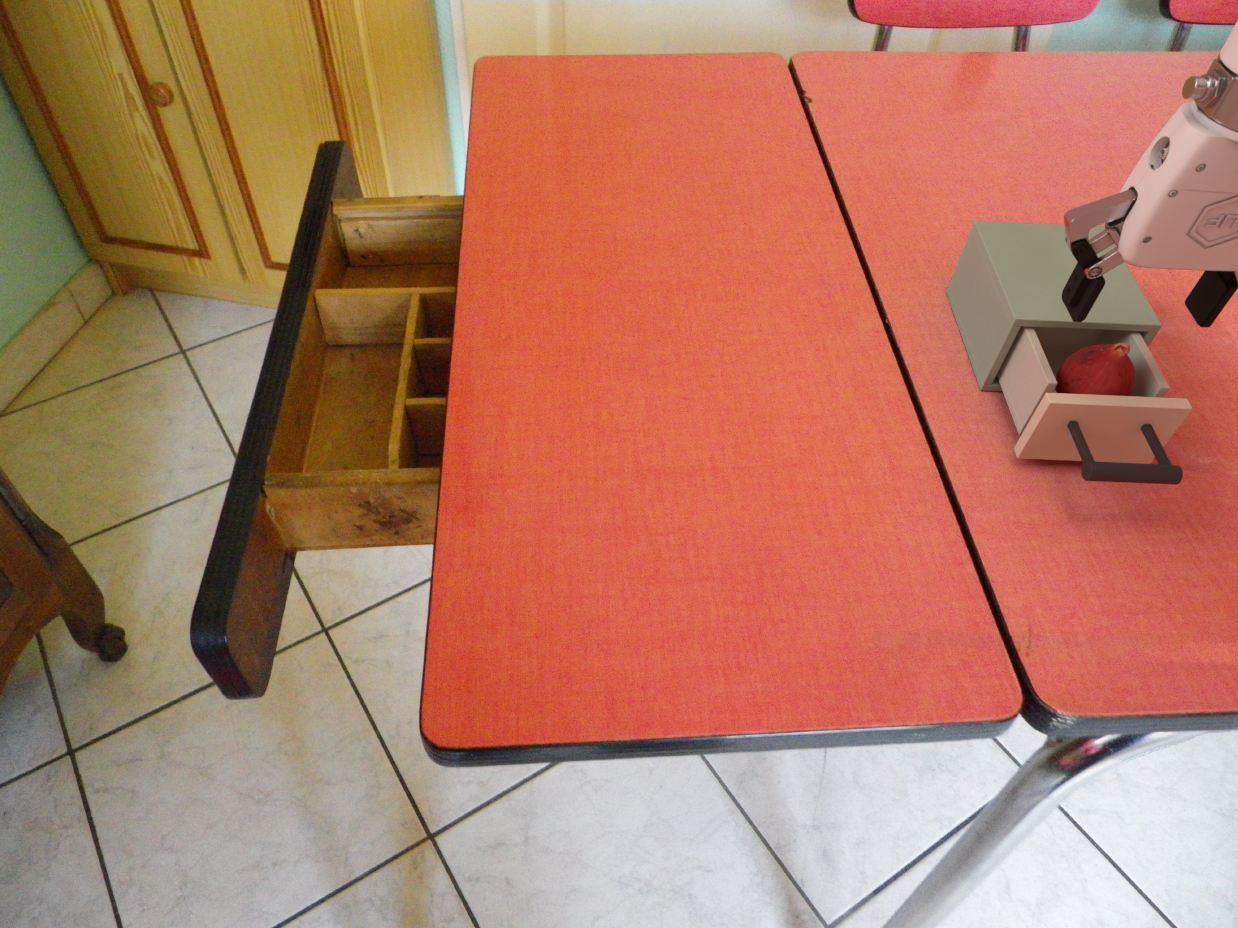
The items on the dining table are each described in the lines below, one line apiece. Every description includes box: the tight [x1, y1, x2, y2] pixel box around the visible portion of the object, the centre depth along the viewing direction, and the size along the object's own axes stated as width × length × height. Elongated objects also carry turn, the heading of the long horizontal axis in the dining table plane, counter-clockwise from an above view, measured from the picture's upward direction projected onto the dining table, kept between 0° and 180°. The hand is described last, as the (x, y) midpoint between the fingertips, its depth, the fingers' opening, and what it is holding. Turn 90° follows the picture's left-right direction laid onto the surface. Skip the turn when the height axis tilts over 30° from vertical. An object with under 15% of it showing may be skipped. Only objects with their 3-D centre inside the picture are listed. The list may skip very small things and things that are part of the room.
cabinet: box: [945, 220, 1163, 392], centre depth 80 cm, size 15×13×9 cm
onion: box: [1055, 343, 1135, 396], centre depth 72 cm, size 6×6×8 cm
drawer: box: [997, 326, 1193, 486], centre depth 72 cm, size 19×11×7 cm, turn 178°
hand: (1133, 313), depth 66 cm, fingers open, 9 cm apart
